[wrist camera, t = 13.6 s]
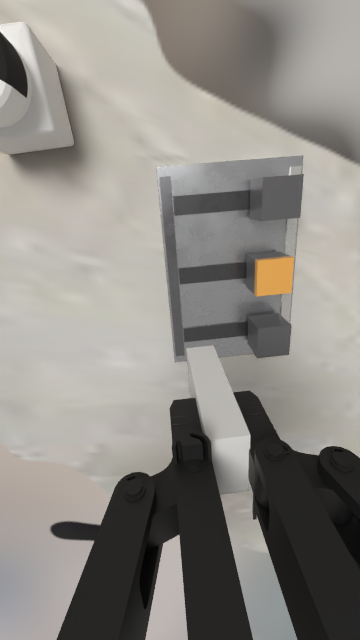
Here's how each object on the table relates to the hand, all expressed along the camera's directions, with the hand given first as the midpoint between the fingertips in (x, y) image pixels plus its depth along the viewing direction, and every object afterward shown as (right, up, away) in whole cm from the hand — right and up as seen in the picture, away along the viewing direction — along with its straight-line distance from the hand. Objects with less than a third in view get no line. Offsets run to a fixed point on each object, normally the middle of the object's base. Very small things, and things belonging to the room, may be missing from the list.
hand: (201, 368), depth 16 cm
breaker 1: (+9, +16, +16) cm, 25 cm away
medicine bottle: (-16, +24, +13) cm, 32 cm away
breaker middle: (+9, +9, +19) cm, 23 cm away
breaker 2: (+10, +2, +22) cm, 25 cm away
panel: (+5, +9, +21) cm, 23 cm away
